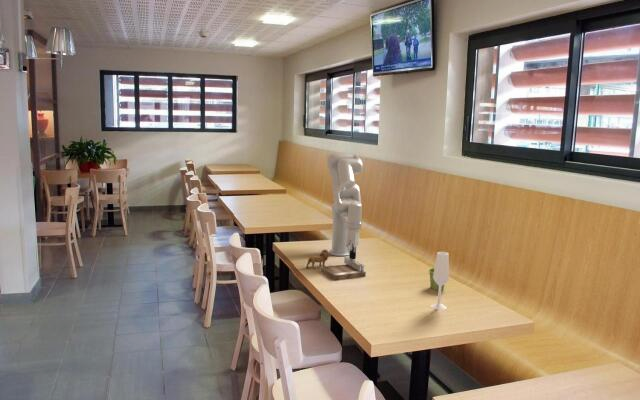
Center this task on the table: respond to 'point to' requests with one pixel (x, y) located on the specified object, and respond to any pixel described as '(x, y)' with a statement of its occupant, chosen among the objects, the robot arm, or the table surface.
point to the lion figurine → (318, 259)
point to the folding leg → (354, 264)
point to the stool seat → (342, 272)
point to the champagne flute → (441, 276)
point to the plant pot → (432, 282)
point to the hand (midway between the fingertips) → (352, 258)
